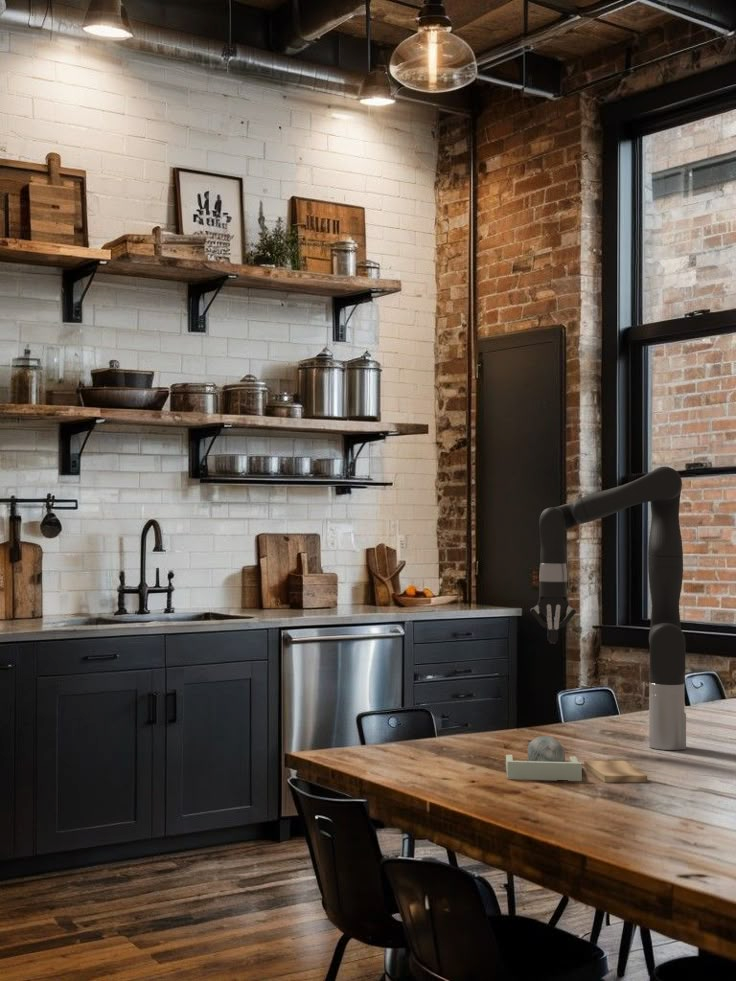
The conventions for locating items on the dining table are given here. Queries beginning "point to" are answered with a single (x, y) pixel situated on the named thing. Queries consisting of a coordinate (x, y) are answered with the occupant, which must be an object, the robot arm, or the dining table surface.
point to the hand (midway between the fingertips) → (552, 642)
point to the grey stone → (545, 750)
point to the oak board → (615, 771)
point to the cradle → (544, 770)
